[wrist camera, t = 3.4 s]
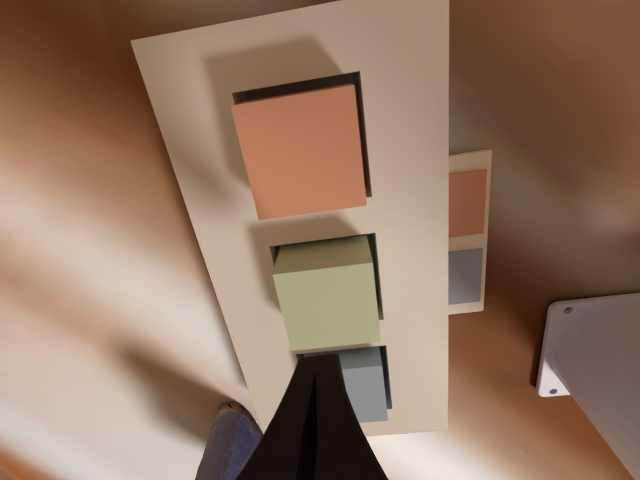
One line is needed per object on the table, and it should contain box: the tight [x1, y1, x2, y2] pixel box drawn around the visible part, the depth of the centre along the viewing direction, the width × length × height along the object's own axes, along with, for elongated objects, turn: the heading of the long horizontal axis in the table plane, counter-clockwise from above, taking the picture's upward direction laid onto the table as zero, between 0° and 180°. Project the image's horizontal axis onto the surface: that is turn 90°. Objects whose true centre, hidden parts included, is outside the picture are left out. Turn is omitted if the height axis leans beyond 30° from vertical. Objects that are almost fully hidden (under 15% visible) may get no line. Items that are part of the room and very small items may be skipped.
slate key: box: [304, 346, 388, 423], centre depth 21 cm, size 4×4×3 cm
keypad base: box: [130, 0, 449, 436], centre depth 19 cm, size 12×24×3 cm, turn 9°
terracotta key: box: [230, 84, 367, 220], centre depth 14 cm, size 4×4×3 cm
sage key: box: [272, 235, 381, 351], centre depth 17 cm, size 4×4×3 cm
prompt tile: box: [448, 149, 492, 315], centre depth 20 cm, size 3×10×1 cm, turn 9°
